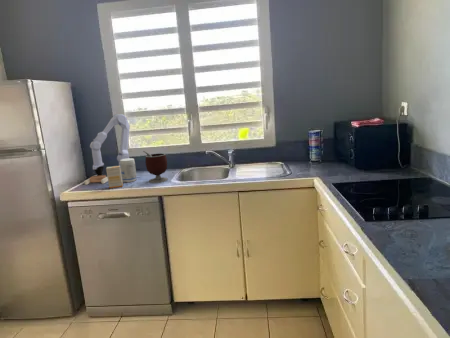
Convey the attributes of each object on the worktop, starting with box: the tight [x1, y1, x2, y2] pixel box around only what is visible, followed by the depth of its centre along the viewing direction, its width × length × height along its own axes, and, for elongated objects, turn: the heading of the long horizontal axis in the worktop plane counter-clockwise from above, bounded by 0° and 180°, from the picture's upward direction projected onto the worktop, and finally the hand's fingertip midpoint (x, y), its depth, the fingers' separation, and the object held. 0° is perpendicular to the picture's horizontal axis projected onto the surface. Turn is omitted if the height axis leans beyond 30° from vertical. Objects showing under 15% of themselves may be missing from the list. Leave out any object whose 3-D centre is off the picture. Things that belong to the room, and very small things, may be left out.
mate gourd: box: [142, 150, 169, 184], centre depth 233 cm, size 16×14×20 cm
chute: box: [84, 176, 108, 185], centre depth 246 cm, size 16×13×2 cm
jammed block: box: [89, 174, 107, 183], centre depth 245 cm, size 5×9×4 cm, turn 87°
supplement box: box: [105, 165, 124, 189], centre depth 225 cm, size 8×5×13 cm, turn 98°
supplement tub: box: [120, 157, 138, 183], centre depth 239 cm, size 10×10×15 cm
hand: (100, 177), depth 248 cm, fingers closed
